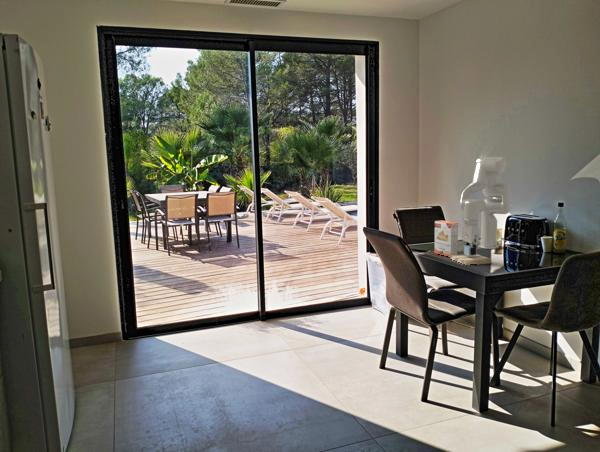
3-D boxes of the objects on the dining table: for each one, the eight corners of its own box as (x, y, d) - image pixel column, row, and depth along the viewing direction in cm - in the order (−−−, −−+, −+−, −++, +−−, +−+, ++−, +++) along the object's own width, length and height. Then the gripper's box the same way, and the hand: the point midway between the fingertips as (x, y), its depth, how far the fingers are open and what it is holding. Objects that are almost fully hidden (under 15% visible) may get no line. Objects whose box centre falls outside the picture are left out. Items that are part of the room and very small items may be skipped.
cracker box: (433, 254, 298) (434, 220, 295) (441, 253, 301) (441, 219, 298) (450, 258, 286) (451, 223, 283) (457, 257, 289) (458, 222, 285)
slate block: (463, 254, 279) (464, 245, 278) (471, 253, 280) (471, 244, 279) (468, 255, 274) (469, 247, 273) (476, 255, 275) (476, 246, 274)
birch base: (450, 259, 283) (450, 255, 283) (474, 257, 287) (474, 253, 286) (465, 265, 268) (465, 261, 267) (490, 263, 272) (491, 258, 271)
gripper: (456, 220, 281) (456, 251, 284) (474, 224, 265) (473, 257, 268) (468, 219, 283) (467, 250, 286) (486, 224, 267) (485, 256, 269)
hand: (470, 253), depth 277 cm, fingers closed on slate block, 5 cm apart
